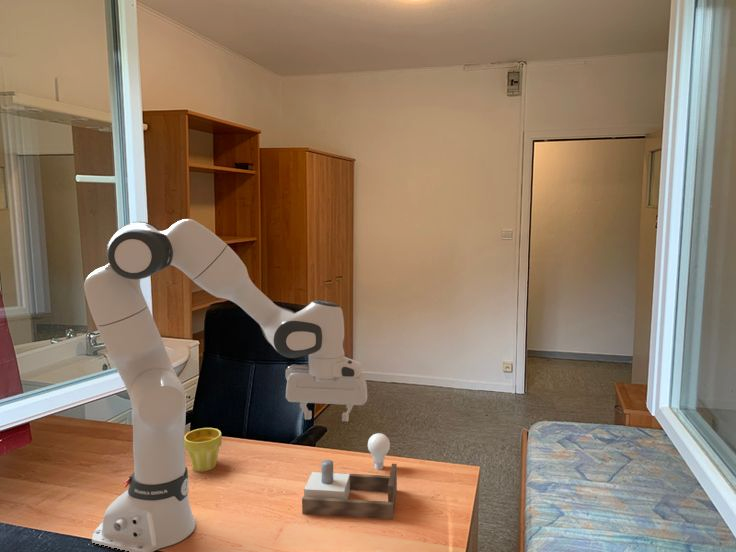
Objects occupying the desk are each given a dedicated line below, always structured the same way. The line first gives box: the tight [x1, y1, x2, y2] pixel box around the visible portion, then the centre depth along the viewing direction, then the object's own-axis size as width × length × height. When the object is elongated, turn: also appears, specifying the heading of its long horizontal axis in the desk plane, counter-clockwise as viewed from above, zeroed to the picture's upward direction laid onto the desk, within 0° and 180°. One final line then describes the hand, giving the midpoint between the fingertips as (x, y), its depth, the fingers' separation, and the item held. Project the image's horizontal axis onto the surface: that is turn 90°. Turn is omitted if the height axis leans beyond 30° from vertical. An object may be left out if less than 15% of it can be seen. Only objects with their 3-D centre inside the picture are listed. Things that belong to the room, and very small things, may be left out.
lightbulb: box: [367, 432, 391, 471], centre depth 156 cm, size 6×6×11 cm
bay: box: [301, 463, 398, 521], centre depth 138 cm, size 22×14×9 cm, turn 83°
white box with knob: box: [303, 459, 351, 499], centre depth 139 cm, size 10×9×10 cm
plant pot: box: [184, 427, 223, 472], centre depth 160 cm, size 10×10×10 cm
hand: (326, 419), depth 137 cm, fingers open, 8 cm apart
